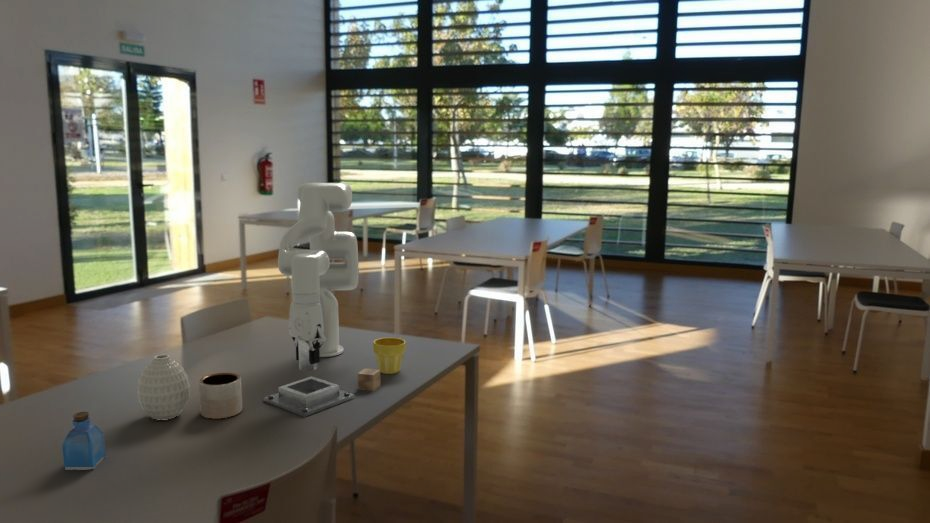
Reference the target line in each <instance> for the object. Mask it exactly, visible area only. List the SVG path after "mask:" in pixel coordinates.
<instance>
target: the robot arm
mask: <svg viewBox="0 0 930 523" xmlns="http://www.w3.org/2000/svg"><path fill="white" fill-rule="evenodd" d="M297 197H298V200H299V202H300V203H299V212H298V221H297V222H296V223H294V224H293V225H292V226H291V227H290V228H289V229H288V230H287V231H286V232H285V233H284V235H283V236H282V237H281V240H280V243H279V249H278V255H277V268H278V270H279V272H280V274H282V275H283V276H288V277H289V276H290V277H291V293H292V295H291V296H292V298H291V299H292V300H291V303H290V306H289V312H288V313H289V315H288V333H289V335H290V336H291V338H292V341H293V342H294V343H293V344H294V347H295V360H296V361H298V362H299V350H298V339H299V338H297V335H298V336H301V339H302V340H306V341H309V343H310V348H311V350H309V362H310V364H315V363H317V364H318V363H320V361H321V359H320V358H329V357H336V356H339V355H341V354H343V353H344V350H345V349H344V347H343V346H342V345H341V344H340V333H339V331H340V330H339V328H340V327H339V326H340V325H339V301H338V299H337V298H336V297H335V295H334V293H332V291H353V290H355V289H356V288H357V287H358V285H359V248H358V240H357V237H356V235H355V233H353V232H351V231H343V230H342V231H336V227H335V225H336V224H335V216H334V213H333V212H345V211H348V210H349V208H350V207H351V205H352V202H353V190H352V187H351V186H350V184H349V183H346V182H307V183H302V184H300V185H299V186H298V189H297ZM308 240H309V249H295V248H294V247H295V246H297V245H299V244H300V243H303V242H306V241H308ZM293 248H294V249H293ZM331 260H342V261H343V262H330V261H331ZM315 336H316V338H315ZM313 341H316V343H315V344H314V342H313Z"/></svg>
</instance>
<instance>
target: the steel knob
mask: <svg viewBox="0 0 930 523" xmlns="http://www.w3.org/2000/svg"><path fill="white" fill-rule="evenodd" d="M297 338H299V339H298V350H299V361H298V369H299V371H302V372H308V371H309V372H310V371H315V370H316V369H318V363H315V364H310V362H309V350H311V348H310V343H309V341H306V340H302V339H301V336H298V335H297ZM315 338H316V336H315ZM313 342H314V344H315V343H316V341H313Z"/></svg>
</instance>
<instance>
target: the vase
mask: <svg viewBox="0 0 930 523" xmlns="http://www.w3.org/2000/svg"><path fill="white" fill-rule="evenodd" d="M136 390H137V391H136V392H137V399H138V402H139V404H140V407H141V408H142V410H143V411H144V412H145V413H146V415H147V416H149V418H151V419H153V420H154V419H160V420H162V419H170V418H173V417H176V416H177V417H178V416H179V415H180V414H181V413H182V412H183V411H184V409H185V407H186V406H187V404H188V401H189V398H190V395H191V383H190V378H189V376H188V374H187V372H186V370H185V369H184V367H183V366H182V365H181V364H179V363H178V362H177V361H175V359H173V358H172V357H171V355H169V354H166V353H165V354H164V353H163V354H157V355H155V356H153V357H152V360H151V361H150V362H149V363H148V364H147V366H145V367H144V369H143V370H142V372H141V374H140V376H139V378H138V381H137V388H136ZM177 417H176V418H177Z"/></svg>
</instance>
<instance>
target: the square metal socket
mask: <svg viewBox="0 0 930 523" xmlns="http://www.w3.org/2000/svg"><path fill="white" fill-rule="evenodd" d="M262 398H263V400H262V401H263V402H264V401H266V402H265V403H267V402H268V403H267V404H269V403H271V404H270V405H272V404H273V405H272V406H275V407H277V408H280V409H283V410H285V411H288V412H291V413H294V414H295V415H299V416H301V417H304V418H306V417H308V416H311V415H314V414H317V413H319V412H321V411H325V410H328V409H329V408H331V407H335V406H337V405H339V404H342V403H345V402H347V401H350V400H353V399H355V394H353V393H352V392H351V393H350V392H349V391H344V390H342V389H341V390H340V385H339V384H336V383H334V382H330V381H327V380H325V379H321V378H318V377H315V376H312V375H311V376H308V377H305V378H302V379H299V380H296V381H293V382H290V383H287V384H285V385H281V386H279V387H278V392H277V393H274V394H269V395H267V396H265V397H262Z"/></svg>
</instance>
